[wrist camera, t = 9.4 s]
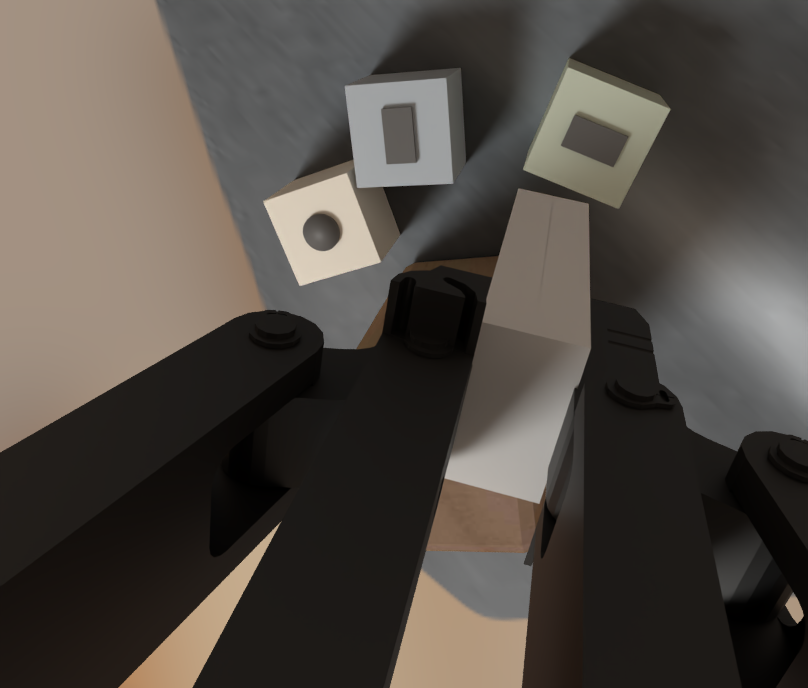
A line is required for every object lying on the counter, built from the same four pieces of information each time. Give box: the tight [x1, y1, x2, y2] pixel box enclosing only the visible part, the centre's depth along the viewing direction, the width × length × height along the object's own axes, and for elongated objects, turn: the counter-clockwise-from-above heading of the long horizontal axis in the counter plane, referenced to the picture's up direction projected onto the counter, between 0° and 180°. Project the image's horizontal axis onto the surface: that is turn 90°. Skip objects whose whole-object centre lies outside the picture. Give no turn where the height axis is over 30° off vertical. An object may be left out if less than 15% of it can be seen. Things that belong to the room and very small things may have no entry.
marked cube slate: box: [345, 68, 466, 188], centre depth 46 cm, size 6×6×6 cm
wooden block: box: [357, 256, 546, 553], centre depth 45 cm, size 10×10×20 cm
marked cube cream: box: [263, 160, 400, 286], centre depth 49 cm, size 6×6×6 cm
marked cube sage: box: [523, 58, 670, 209], centre depth 44 cm, size 6×6×6 cm
